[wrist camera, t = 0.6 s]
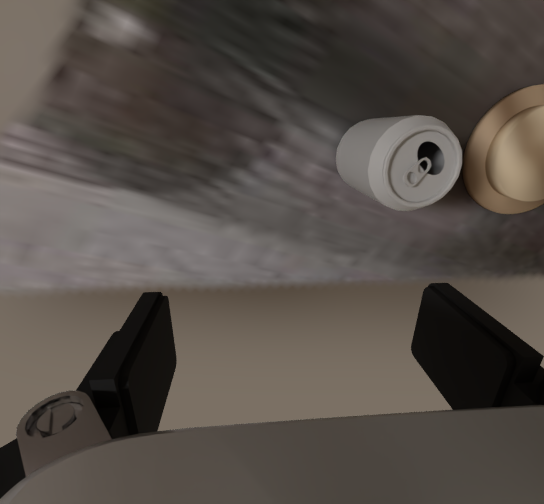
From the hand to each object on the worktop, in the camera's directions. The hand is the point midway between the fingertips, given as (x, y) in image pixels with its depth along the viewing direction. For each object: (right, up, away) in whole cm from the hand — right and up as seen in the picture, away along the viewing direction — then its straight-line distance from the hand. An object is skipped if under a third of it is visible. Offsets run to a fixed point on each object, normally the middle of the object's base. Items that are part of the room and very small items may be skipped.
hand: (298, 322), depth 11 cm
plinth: (+28, +14, +24) cm, 40 cm away
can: (+10, +13, +23) cm, 28 cm away
